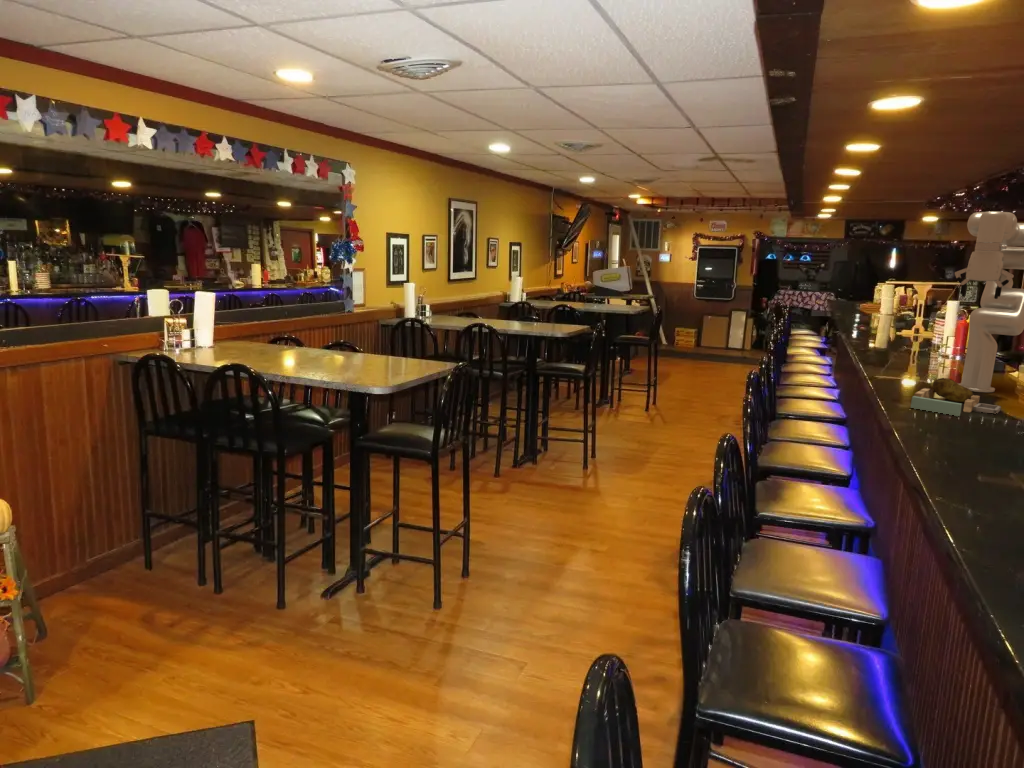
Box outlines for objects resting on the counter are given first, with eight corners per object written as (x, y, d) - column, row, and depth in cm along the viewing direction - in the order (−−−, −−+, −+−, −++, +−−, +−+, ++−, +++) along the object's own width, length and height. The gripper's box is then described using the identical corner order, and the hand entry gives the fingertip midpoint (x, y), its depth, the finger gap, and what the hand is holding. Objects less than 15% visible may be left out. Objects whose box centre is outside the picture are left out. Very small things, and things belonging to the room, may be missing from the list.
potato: (974, 405, 241) (977, 383, 239) (931, 400, 246) (934, 378, 244) (970, 400, 248) (974, 379, 246) (929, 396, 253) (932, 374, 252)
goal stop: (911, 407, 234) (913, 396, 233) (959, 415, 225) (961, 403, 224) (910, 408, 233) (912, 396, 232) (958, 416, 224) (960, 404, 223)
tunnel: (922, 397, 251) (924, 387, 250) (978, 406, 240) (979, 396, 239) (913, 403, 241) (914, 393, 240) (970, 412, 230) (971, 402, 229)
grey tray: (978, 407, 238) (978, 402, 238) (1000, 410, 234) (1001, 406, 234) (972, 411, 232) (973, 406, 231) (995, 414, 228) (996, 410, 227)
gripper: (1019, 249, 238) (1010, 299, 241) (961, 247, 249) (953, 295, 252) (1017, 248, 232) (1007, 300, 236) (957, 247, 243) (949, 296, 247)
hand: (979, 297), depth 244 cm, fingers open, 9 cm apart
